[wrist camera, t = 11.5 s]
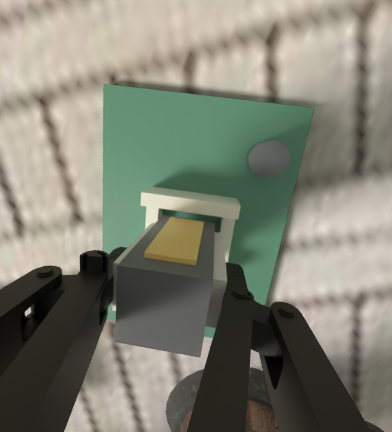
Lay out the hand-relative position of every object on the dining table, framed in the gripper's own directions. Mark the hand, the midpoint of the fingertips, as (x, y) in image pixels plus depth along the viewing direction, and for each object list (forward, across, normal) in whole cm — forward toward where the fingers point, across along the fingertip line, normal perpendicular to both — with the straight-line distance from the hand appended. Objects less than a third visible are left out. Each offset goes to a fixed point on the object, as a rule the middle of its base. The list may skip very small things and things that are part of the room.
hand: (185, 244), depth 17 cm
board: (+4, 0, 0) cm, 4 cm away
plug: (0, 0, 0) cm, 0 cm away
